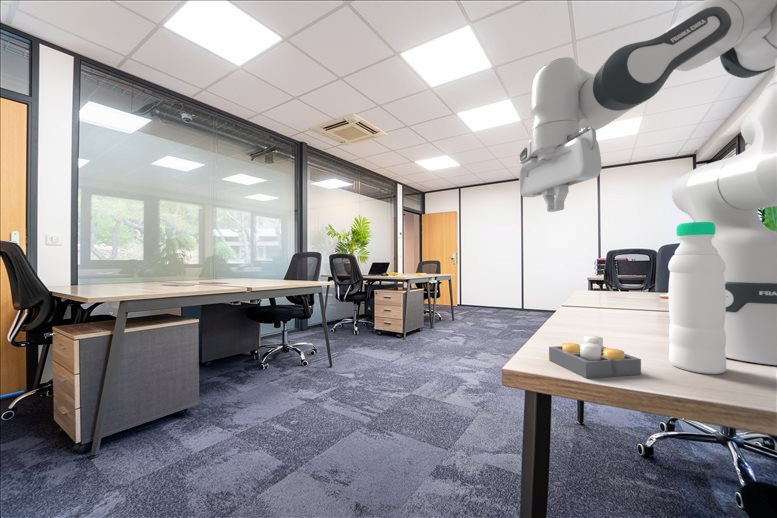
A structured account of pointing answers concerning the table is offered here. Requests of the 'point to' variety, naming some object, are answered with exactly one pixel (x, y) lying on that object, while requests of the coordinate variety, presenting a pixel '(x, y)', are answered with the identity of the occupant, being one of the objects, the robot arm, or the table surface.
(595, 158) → the robot arm
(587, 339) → the button
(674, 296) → the water bottle
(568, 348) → the button
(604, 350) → the button
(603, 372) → the grey egg tray
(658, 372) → the table surface
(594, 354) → the button
